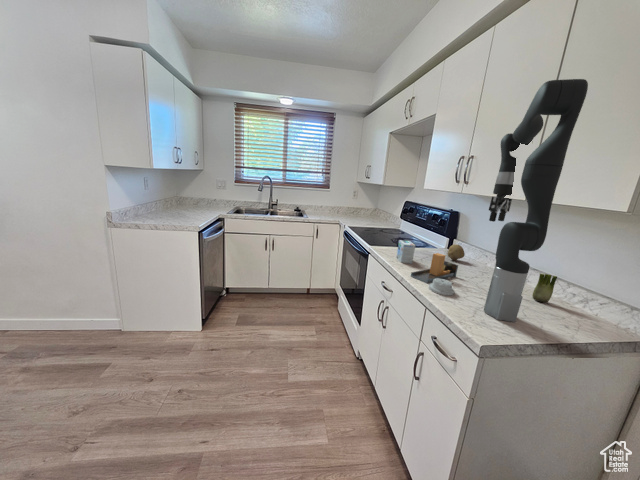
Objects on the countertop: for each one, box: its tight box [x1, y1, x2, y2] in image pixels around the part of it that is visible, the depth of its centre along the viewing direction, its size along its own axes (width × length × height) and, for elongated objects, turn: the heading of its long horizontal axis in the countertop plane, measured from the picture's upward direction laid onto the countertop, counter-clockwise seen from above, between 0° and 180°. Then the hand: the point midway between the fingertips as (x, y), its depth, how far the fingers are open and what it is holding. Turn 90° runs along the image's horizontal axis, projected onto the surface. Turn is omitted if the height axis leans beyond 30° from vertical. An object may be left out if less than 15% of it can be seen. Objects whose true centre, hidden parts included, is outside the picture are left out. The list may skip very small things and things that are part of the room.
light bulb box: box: [395, 239, 416, 265], centre depth 147 cm, size 11×7×11 cm, turn 178°
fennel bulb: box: [532, 273, 558, 304], centre depth 105 cm, size 6×5×12 cm
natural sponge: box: [447, 244, 465, 261], centre depth 156 cm, size 9×9×10 cm
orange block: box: [429, 252, 450, 276], centre depth 126 cm, size 9×6×10 cm
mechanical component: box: [428, 278, 455, 296], centre depth 108 cm, size 10×4×10 cm
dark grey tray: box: [410, 268, 455, 284], centre depth 125 cm, size 23×9×2 cm, turn 124°
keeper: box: [442, 260, 459, 278], centre depth 129 cm, size 6×10×6 cm
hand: (496, 221), depth 113 cm, fingers open, 8 cm apart
